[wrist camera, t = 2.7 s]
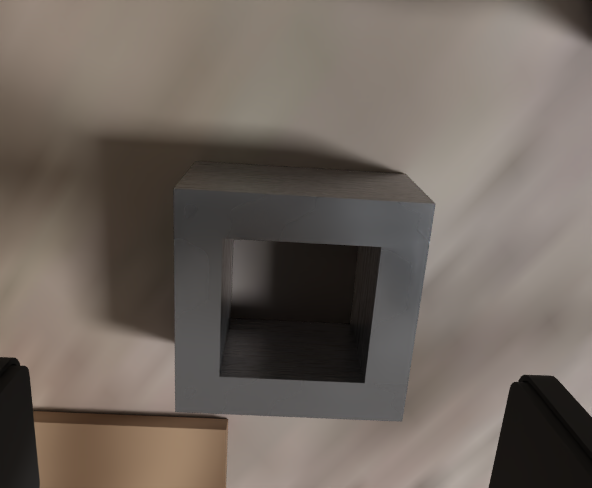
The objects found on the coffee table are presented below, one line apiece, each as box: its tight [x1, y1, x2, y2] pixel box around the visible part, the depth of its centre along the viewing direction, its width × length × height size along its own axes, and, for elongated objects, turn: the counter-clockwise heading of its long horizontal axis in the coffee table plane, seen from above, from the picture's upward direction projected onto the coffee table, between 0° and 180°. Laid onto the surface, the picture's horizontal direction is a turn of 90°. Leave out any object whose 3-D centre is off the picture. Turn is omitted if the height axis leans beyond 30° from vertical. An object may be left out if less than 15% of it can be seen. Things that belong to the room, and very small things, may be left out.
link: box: [174, 161, 435, 421], centre depth 16 cm, size 6×6×4 cm
